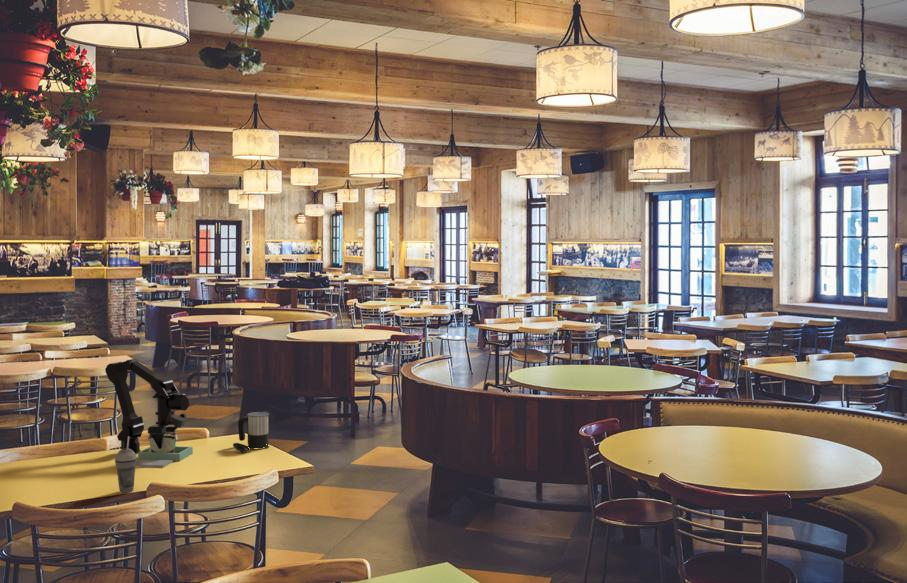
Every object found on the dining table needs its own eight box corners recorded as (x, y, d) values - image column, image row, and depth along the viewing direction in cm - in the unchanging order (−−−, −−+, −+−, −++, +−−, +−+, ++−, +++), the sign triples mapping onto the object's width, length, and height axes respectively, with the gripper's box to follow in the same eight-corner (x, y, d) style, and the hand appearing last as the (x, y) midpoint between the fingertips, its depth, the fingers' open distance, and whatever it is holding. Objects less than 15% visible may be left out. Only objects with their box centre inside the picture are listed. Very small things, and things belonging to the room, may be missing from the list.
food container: (183, 455, 341) (182, 431, 340) (176, 459, 335) (176, 435, 334) (155, 454, 342) (154, 431, 342) (148, 458, 336) (147, 434, 335)
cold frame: (138, 459, 334) (138, 452, 333) (152, 452, 345) (152, 445, 345) (179, 461, 331) (179, 453, 331) (192, 453, 343) (192, 446, 343)
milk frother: (271, 444, 359) (270, 411, 358) (265, 453, 343) (264, 418, 343) (238, 445, 358) (237, 412, 357) (231, 454, 342) (230, 419, 342)
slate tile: (129, 466, 323) (129, 464, 323) (139, 461, 331) (139, 459, 331) (163, 467, 321) (163, 465, 321) (172, 462, 329) (172, 460, 329)
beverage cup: (119, 488, 293) (117, 434, 292) (140, 488, 294) (138, 433, 293) (112, 494, 286) (111, 438, 285) (133, 494, 286) (132, 438, 285)
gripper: (172, 413, 327) (173, 452, 328) (192, 405, 346) (193, 441, 347) (146, 413, 329) (147, 451, 329) (168, 404, 347) (168, 440, 348)
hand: (165, 446), depth 338 cm, fingers open, 9 cm apart
